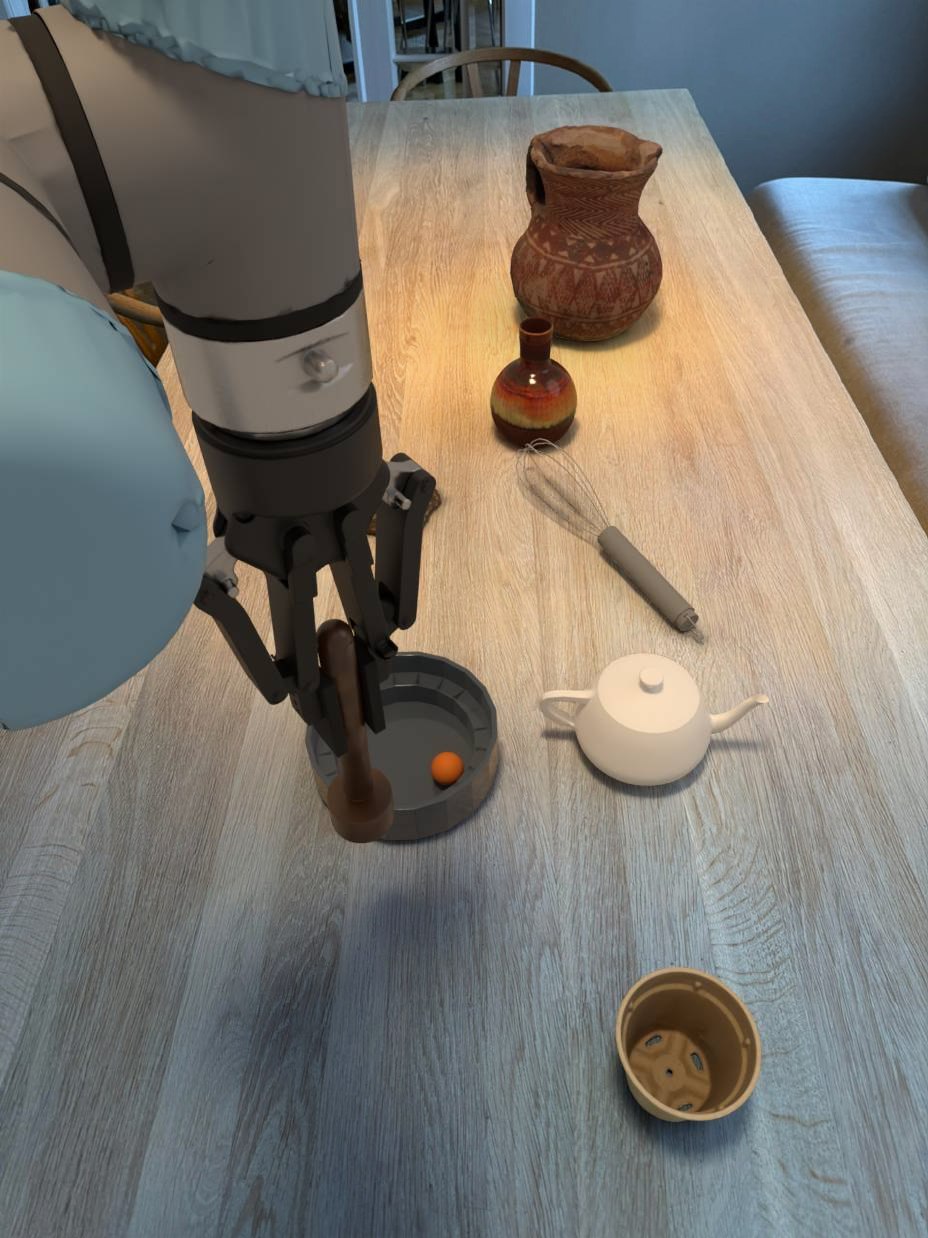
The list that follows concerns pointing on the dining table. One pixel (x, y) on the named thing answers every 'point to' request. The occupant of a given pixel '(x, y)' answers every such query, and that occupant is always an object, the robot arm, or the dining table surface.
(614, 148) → the jug
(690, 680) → the teapot
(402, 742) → the bowl
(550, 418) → the vase
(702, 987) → the flower pot
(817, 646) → the dining table surface
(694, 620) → the kitchen whisk
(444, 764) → the bead
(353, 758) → the wooden pestle
